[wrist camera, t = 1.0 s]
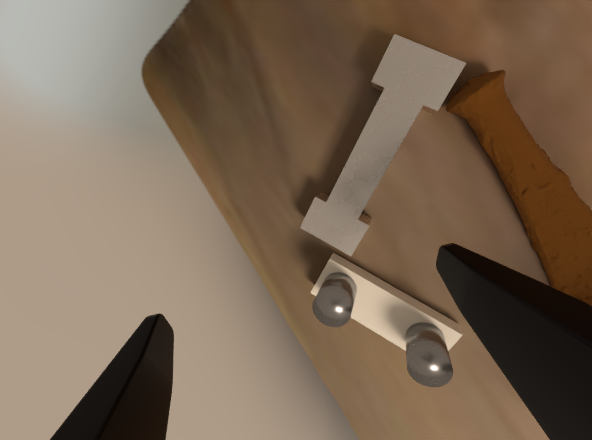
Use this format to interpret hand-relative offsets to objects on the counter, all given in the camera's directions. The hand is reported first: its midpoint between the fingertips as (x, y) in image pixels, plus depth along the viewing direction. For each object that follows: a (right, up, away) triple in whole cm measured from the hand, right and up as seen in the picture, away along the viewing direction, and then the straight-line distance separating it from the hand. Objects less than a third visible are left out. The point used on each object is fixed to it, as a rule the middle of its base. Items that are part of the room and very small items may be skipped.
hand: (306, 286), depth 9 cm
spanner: (+6, +7, +14) cm, 17 cm away
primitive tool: (+17, +4, +11) cm, 21 cm away
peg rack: (+7, -5, +16) cm, 19 cm away
